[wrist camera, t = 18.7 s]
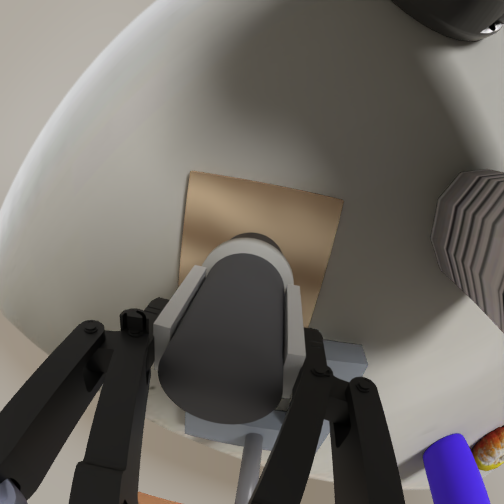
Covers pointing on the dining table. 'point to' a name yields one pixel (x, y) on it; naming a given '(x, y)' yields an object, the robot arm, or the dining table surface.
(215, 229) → the coaster
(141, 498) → the ball-ended peach stick
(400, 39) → the dining table surface
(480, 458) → the fruit
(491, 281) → the can
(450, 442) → the bottle
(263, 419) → the socket
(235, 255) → the plug
